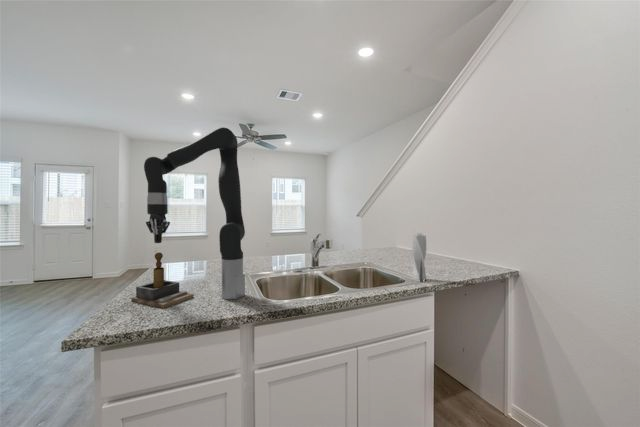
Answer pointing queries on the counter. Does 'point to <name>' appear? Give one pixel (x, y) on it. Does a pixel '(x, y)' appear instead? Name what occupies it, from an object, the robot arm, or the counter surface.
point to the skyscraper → (419, 256)
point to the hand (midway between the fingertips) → (157, 242)
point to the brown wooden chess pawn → (158, 272)
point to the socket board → (160, 295)
